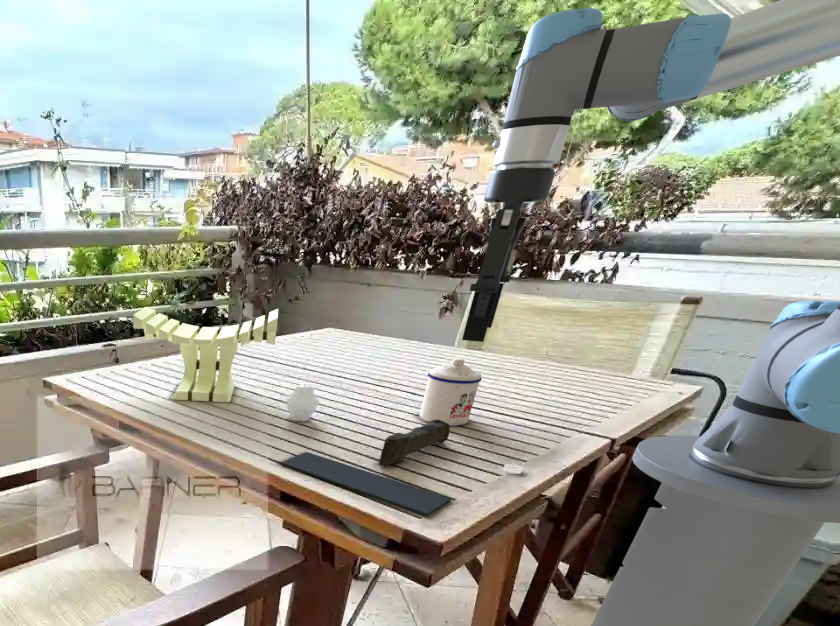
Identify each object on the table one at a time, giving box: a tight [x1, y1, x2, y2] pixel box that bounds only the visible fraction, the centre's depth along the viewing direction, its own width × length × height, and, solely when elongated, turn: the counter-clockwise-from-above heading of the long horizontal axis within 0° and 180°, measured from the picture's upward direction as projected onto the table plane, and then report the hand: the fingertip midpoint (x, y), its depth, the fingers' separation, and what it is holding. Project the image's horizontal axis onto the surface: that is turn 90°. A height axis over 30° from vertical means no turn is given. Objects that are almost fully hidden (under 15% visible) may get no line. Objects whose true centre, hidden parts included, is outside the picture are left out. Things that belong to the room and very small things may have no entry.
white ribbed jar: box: [286, 383, 320, 422], centre depth 108 cm, size 6×6×7 cm
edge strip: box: [280, 451, 452, 517], centre depth 83 cm, size 24×7×1 cm, turn 40°
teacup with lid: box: [419, 357, 483, 427], centre depth 106 cm, size 12×9×12 cm
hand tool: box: [378, 420, 451, 466], centre depth 92 cm, size 19×4×5 cm, turn 126°
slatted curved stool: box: [132, 306, 279, 403], centre depth 124 cm, size 30×16×18 cm, turn 77°
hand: (477, 333), depth 84 cm, fingers open, 13 cm apart
